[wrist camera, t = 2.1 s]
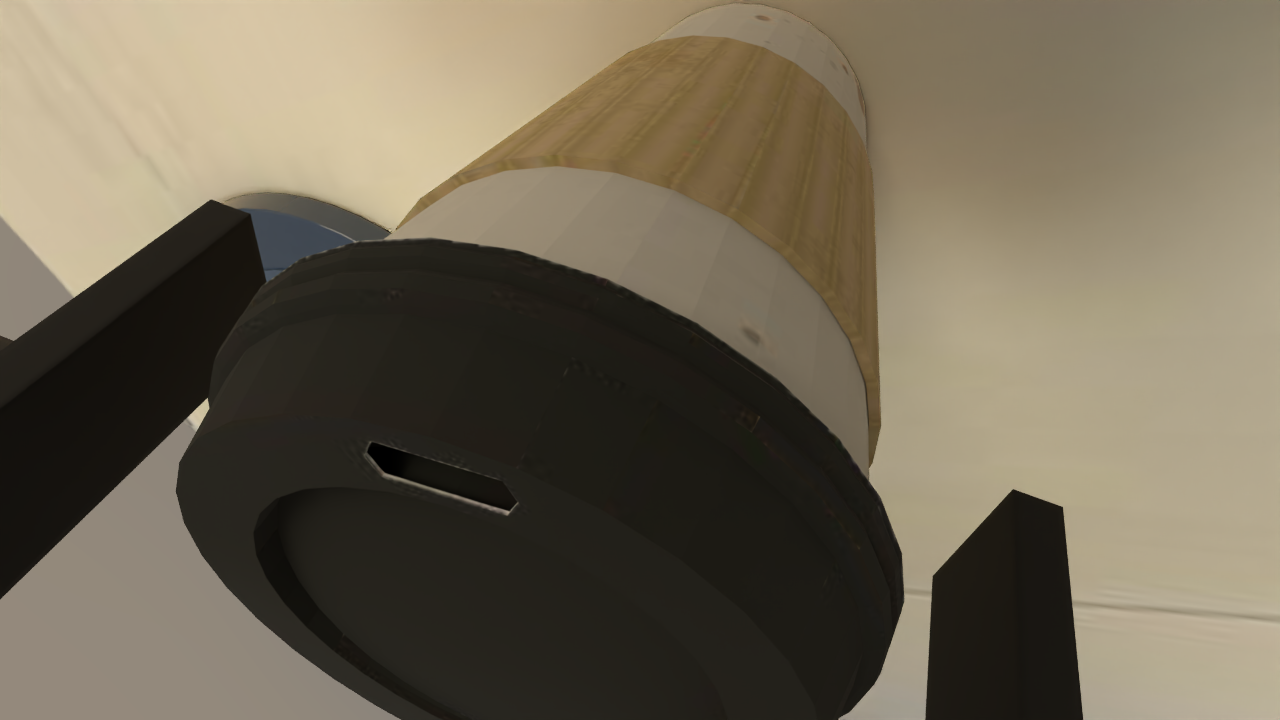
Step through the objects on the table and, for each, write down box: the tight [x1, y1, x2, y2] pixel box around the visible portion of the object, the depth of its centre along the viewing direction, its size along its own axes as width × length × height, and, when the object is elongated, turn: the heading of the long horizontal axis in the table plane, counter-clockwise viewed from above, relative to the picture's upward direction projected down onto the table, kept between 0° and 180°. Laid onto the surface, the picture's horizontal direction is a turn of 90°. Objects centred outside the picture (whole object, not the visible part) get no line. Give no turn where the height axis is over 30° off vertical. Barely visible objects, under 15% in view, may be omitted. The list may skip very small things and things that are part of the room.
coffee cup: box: [176, 3, 904, 720], centre depth 15 cm, size 10×10×15 cm
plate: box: [222, 193, 391, 282], centre depth 32 cm, size 15×15×1 cm
